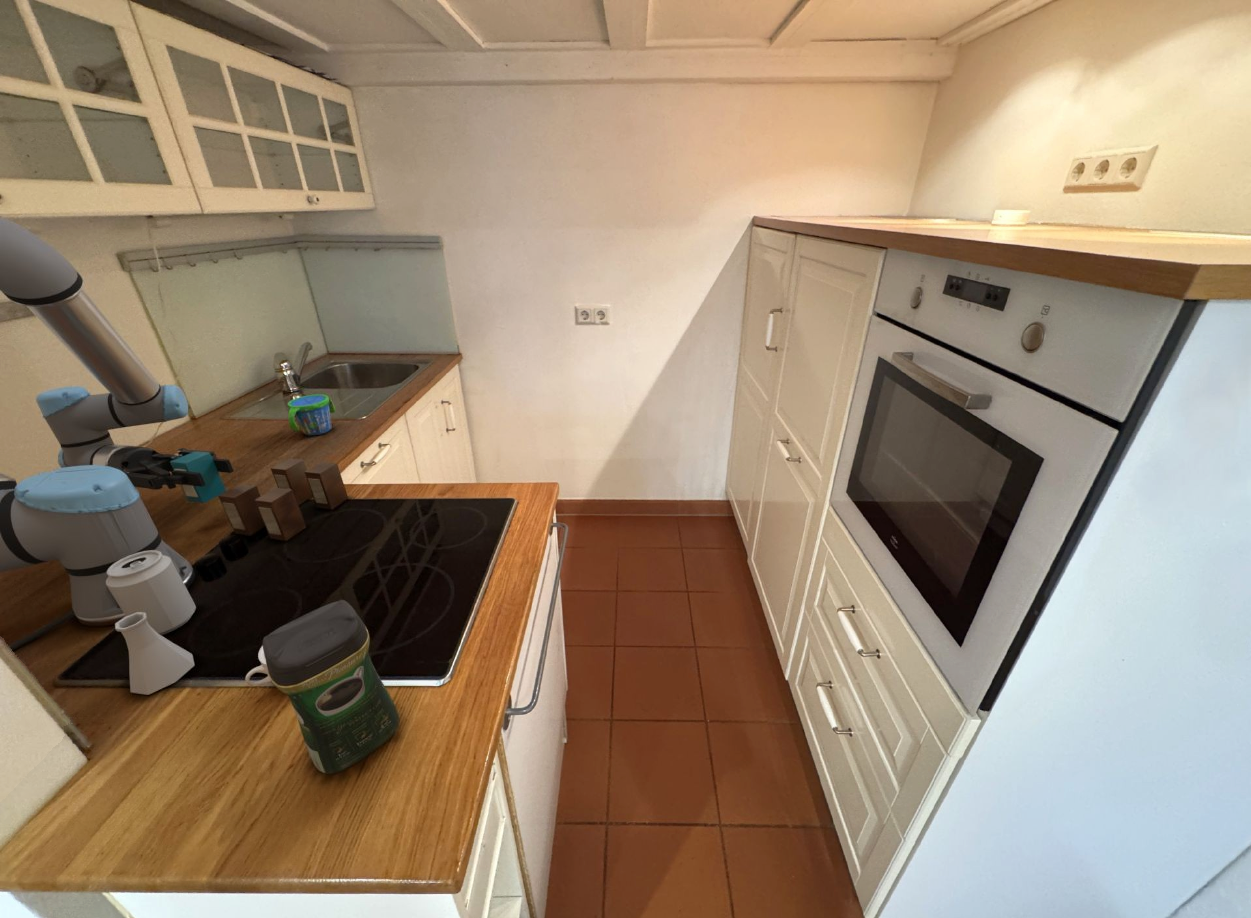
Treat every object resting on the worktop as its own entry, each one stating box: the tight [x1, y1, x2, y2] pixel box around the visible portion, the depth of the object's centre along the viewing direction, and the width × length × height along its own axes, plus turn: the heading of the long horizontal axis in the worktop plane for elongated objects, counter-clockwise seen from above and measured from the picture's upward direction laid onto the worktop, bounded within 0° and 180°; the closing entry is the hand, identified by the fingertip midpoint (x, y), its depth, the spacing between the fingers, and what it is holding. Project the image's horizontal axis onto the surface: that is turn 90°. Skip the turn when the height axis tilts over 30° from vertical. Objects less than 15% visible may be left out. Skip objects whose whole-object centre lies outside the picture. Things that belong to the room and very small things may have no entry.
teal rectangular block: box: [170, 451, 227, 504], centre depth 101 cm, size 5×4×9 cm
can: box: [106, 550, 197, 636], centre depth 77 cm, size 8×8×12 cm
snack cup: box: [287, 394, 336, 437], centre depth 149 cm, size 16×10×10 cm
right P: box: [304, 461, 349, 510], centre depth 110 cm, size 5×4×9 cm
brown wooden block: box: [254, 487, 307, 542], centre depth 100 cm, size 5×4×9 cm
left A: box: [217, 483, 266, 536], centre depth 102 cm, size 5×4×9 cm
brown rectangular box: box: [270, 458, 313, 506], centre depth 112 cm, size 5×4×9 cm
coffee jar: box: [262, 599, 400, 775], centre depth 57 cm, size 10×8×19 cm
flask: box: [114, 612, 195, 696], centre depth 68 cm, size 7×7×10 cm
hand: (215, 472), depth 99 cm, fingers closed on teal rectangular block, 5 cm apart
